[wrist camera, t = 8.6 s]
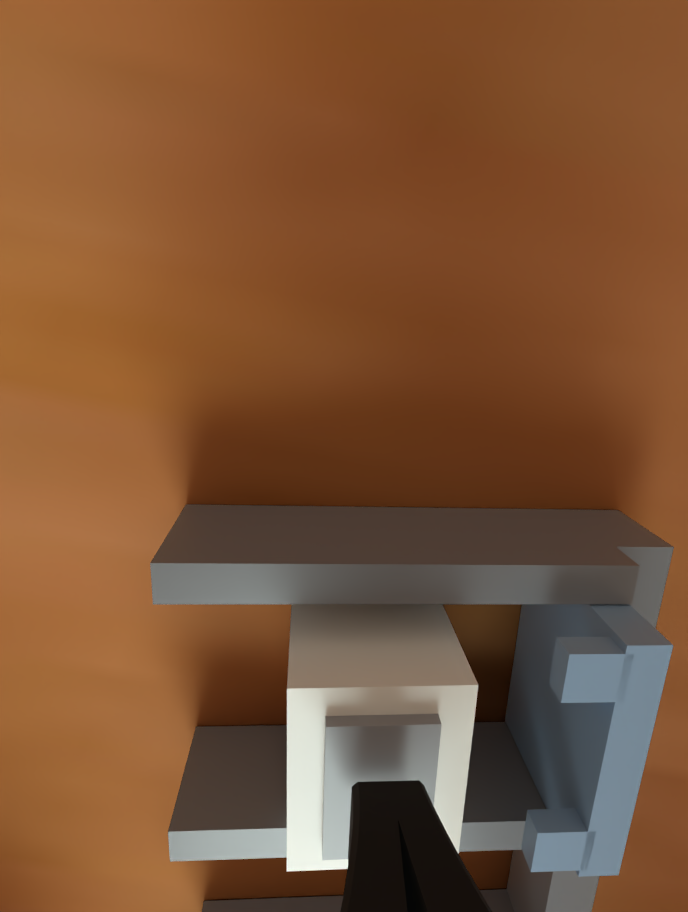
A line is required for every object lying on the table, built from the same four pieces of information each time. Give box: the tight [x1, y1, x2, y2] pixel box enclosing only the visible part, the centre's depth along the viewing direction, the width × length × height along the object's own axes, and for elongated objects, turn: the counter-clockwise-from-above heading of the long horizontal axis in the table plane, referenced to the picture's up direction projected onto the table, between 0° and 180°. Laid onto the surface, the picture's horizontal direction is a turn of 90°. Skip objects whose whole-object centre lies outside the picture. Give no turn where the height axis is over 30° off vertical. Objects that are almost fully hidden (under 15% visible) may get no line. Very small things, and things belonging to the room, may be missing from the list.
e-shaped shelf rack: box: [150, 504, 674, 912], centre depth 16 cm, size 24×12×5 cm, turn 178°
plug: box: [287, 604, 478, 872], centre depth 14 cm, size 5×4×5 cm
